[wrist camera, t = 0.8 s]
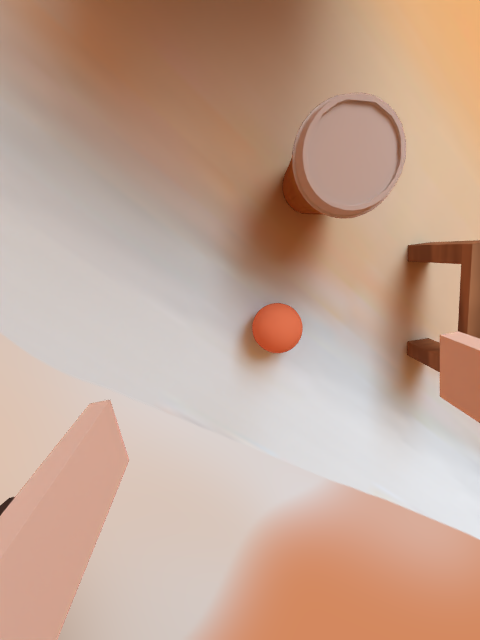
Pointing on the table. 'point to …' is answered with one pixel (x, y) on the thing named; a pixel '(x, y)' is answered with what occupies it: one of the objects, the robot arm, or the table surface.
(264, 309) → the ball
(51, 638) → the robot arm
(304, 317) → the table surface
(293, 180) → the disposable coffee cup
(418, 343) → the bridge
